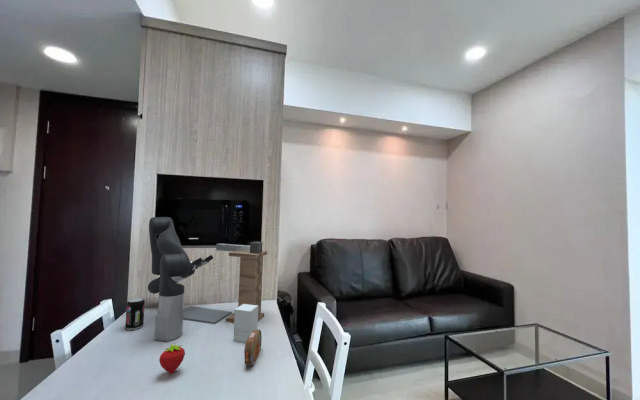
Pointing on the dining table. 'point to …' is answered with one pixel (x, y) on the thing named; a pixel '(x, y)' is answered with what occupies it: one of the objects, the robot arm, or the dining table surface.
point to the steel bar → (241, 247)
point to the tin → (252, 347)
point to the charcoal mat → (204, 314)
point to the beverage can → (135, 313)
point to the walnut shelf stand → (249, 280)
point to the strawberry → (172, 358)
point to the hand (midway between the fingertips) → (207, 258)
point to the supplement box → (245, 321)
